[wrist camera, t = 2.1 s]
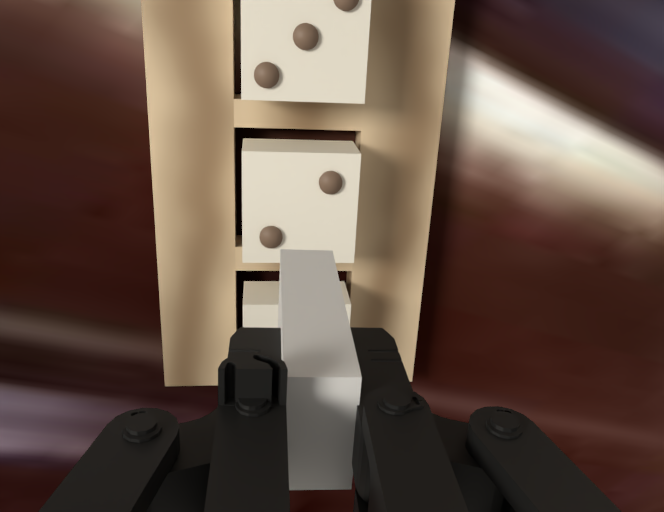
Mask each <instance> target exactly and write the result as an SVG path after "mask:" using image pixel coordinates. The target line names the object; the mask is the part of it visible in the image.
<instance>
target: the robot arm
mask: <svg viewBox="0 0 664 512" xmlns="http://www.w3.org/2000/svg"><path fill="white" fill-rule="evenodd" d="M353 474H354V480H355V486H356V489H355V499H354V510H353V512H621V511H620V510H619V509H618V508H617V507H616V506H615V505H614V504H613V503H612V502H611V501H610V500H609V499H608V498H607V497H606V496H605V495H604V494H603V493H602V491H601V490H600V489H599V488H598V487H597V486H596V485H595V484H594V483H593V482H592V481H591V480H590V479H589V478H588V477H587V476H586V475H585V474H584V473H583V472H582V471H581V470H580V469H579V468H578V467H577V466H576V465H575V464H574V463H573V462H572V461H571V460H570V459H569V458H568V457H567V456H566V455H565V454H564V453H563V452H562V451H561V450H560V449H559V448H558V447H557V446H556V445H555V444H554V443H553V442H552V441H551V440H550V439H549V438H548V437H547V436H546V435H545V434H544V433H543V432H542V431H541V430H540V429H539V428H538V427H537V426H536V424H535V423H534V422H532V421H531V420H530V419H528V418H527V417H526V416H524V415H523V414H521V413H519V412H516V411H514V410H512V409H508V408H503V407H484V408H481V409H478V410H476V411H475V412H474V413H473V414H472V415H471V416H470V420H469V423H465V422H460V421H455V420H450V419H447V418H443V417H440V416H438V415H435V414H433V413H431V410H430V407H429V405H428V404H427V402H426V401H425V399H424V398H423V397H422V396H420V395H419V394H417V393H416V392H414V391H413V390H412V387H411V384H410V382H409V379H408V376H407V373H406V370H405V367H404V365H403V362H402V359H401V356H400V353H399V352H398V348H397V345H396V342H395V339H394V338H393V337H392V336H391V335H390V334H389V333H388V332H387V331H385V330H384V329H383V328H363V327H350V324H349V320H348V315H347V311H346V307H345V302H344V298H343V294H342V289H341V285H340V281H339V276H338V272H337V268H336V263H335V259H334V255H333V251H329V250H292V249H280V276H279V306H278V328H260V327H240V328H239V329H238V330H237V331H236V332H235V333H234V334H233V335H232V336H231V337H230V343H229V352H228V358H226V359H225V360H223V361H222V362H221V364H220V366H219V368H218V407H217V408H216V409H215V410H214V411H213V412H211V413H210V414H208V415H206V416H204V417H202V418H200V419H197V420H193V421H190V422H185V423H180V424H178V421H177V419H176V417H174V416H173V415H172V414H171V413H169V412H167V411H164V410H161V409H157V408H140V409H135V410H130V411H127V412H125V413H123V414H121V415H119V416H117V417H115V418H114V419H113V420H112V421H111V422H110V423H108V424H107V426H106V427H105V428H104V429H103V431H102V432H101V433H100V434H99V436H98V437H97V438H96V440H95V441H94V442H93V443H92V445H91V446H90V447H89V448H88V450H87V451H86V452H85V453H84V455H83V456H82V457H81V459H80V460H79V461H78V462H77V464H76V465H75V466H74V467H73V469H72V470H71V471H70V472H69V474H68V475H67V476H66V478H65V479H64V480H63V481H62V483H61V484H60V485H59V486H58V488H57V489H56V490H55V491H54V493H53V494H52V495H51V497H50V498H49V499H48V500H47V502H46V503H45V504H44V505H43V507H42V508H41V509H40V510H39V512H290V500H289V490H335V489H351V488H352V477H353Z"/></svg>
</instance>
